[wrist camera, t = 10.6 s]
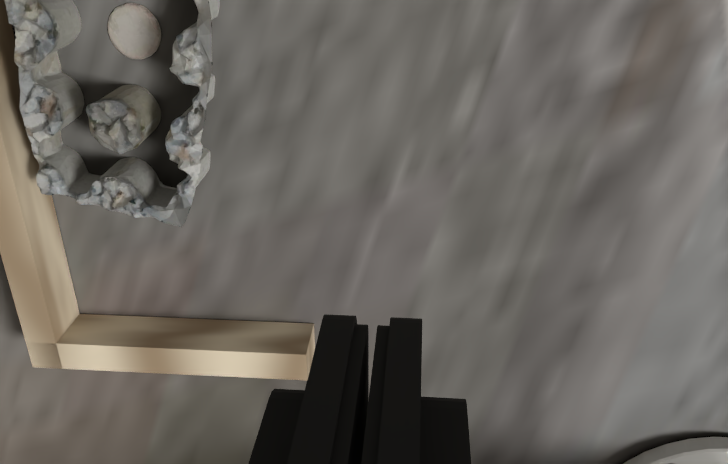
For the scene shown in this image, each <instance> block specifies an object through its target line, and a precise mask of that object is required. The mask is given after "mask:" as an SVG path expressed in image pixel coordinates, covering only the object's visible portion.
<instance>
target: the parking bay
mask: <svg viewBox="0 0 728 464" xmlns="http://www.w3.org/2000/svg"><path fill="white" fill-rule="evenodd" d="M14 52H15V37H14V33H13V29H12V25H11V24H9V22H8V15H7V11H6V4H5V1H4V0H0V254H1V257H2V261H3V264H4V268H5V271H6V275H7V278H8V282H9V285H10V289H11V292H12V296H13V299H14V303H15V306H16V310H17V313H18V317H19V320H20V324H21V327H22V331H23V334H24V338H25V341H26V345H27V348H28V352H29V355H30V359H31V362H32V366H33V367H38V368H59V369H80V370H101V371H122V372H143V373H164V374H185V375H206V376H227V377H248V378H269V379H290V380H308V376H309V372H310V367H311V363H312V359H313V354H314V350H315V338H314V324H310V323H286V322H262V321H238V320H214V319H190V318H166V317H142V316H118V315H94V314H79V309H78V305H77V301H76V297H75V292H74V288H73V284H72V280H71V275H70V271H69V267H68V263H67V258H66V254H65V250H64V246H63V241H62V237H61V233H60V229H59V224H58V220H57V216H56V212H55V207H54V203H53V199H52V195H45V194H42V193H41V192H40V189H39V187H38V186H37V181H36V174H37V172H38V170H39V163H38V161H37V160H36V158H35V157H34V155H33V152H32V146H31V142H30V140H29V138H28V135H27V132H26V129H25V125H24V121H23V118H22V115H21V111H20V84H19V70H18V66H17V65H16V63H15V60H14Z"/></svg>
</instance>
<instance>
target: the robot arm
mask: <svg viewBox="0 0 728 464" xmlns="http://www.w3.org/2000/svg"><path fill="white" fill-rule="evenodd" d="M421 355H422V319H413V318H390V326H380V325H378V327H377V334H376V343H375V351H374V360H373V368H372V376H371V385H370V393H369V402H368V325H358V324H357V319H356V316H346V315H324V316H323V320H322V324H321V328H320V332H319V336H318V340H317V344H316V348H315V352H314V356H313V360H312V364H311V368H310V372H309V376H308V380H307V384H306V388H305V391H304V390H286V389H274V390H273V391H272V392H271V395H270V397H269V400H268V404H267V407H266V410H265V413H264V416H263V419H262V423H261V426H260V429H259V432H258V435H257V439H256V442H255V445H254V448H253V451H252V454H251V458H250V461H249V464H471V457H470V443H469V429H468V415H467V404H466V399H453V398H435V397H421ZM623 464H728V437H704V438H693V439H686V440H682V441H677V442H673V443H668V444H665V445H662V446H659V447H656V448H654V449H651V450H648V451H646V452H643V453H641V454H640V455H638V456H636V457H634V458H632V459H630V460H628V461H627V462H625V463H623Z"/></svg>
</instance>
